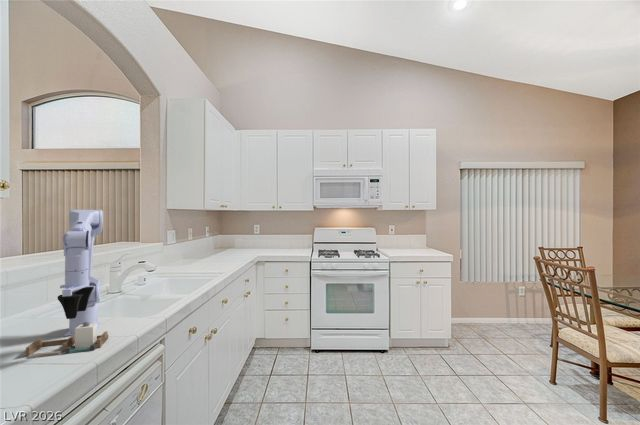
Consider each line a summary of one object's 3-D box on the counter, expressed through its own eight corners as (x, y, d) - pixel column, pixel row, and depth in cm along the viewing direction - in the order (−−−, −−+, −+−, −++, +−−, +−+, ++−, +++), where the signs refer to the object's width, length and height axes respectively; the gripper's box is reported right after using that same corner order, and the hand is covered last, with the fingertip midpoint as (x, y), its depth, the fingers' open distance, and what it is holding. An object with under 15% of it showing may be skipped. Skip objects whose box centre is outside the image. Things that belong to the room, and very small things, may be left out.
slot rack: (40, 345, 95) (40, 337, 95) (108, 338, 101) (108, 330, 101) (23, 358, 86) (23, 349, 86) (98, 349, 92) (98, 341, 92)
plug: (79, 344, 96) (79, 321, 96) (96, 342, 98) (96, 320, 98) (74, 348, 93) (75, 325, 93) (92, 346, 94) (92, 323, 94)
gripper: (71, 267, 101) (70, 309, 101) (49, 275, 87) (48, 323, 87) (96, 266, 103) (96, 307, 103) (79, 273, 90) (79, 320, 90)
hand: (76, 314), depth 95 cm, fingers open, 7 cm apart
